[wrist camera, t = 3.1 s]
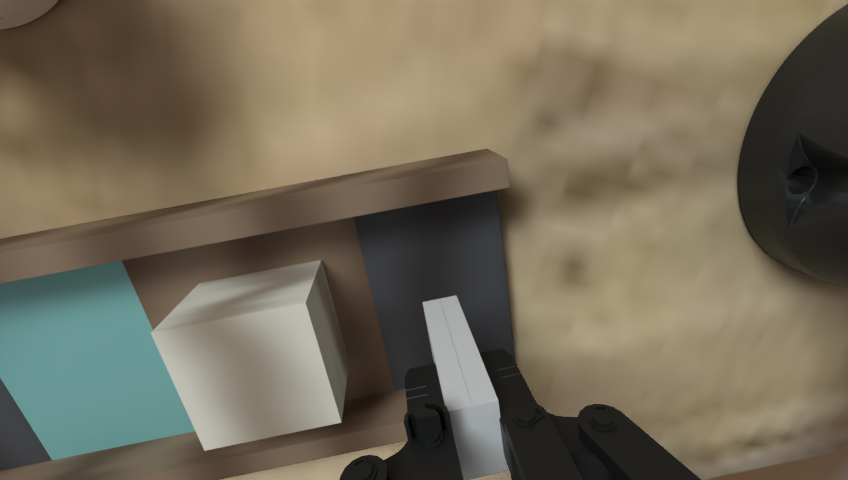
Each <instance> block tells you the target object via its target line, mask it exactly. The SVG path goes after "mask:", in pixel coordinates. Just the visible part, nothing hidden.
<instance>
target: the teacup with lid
mask: <svg viewBox="0 0 848 480" xmlns="http://www.w3.org/2000/svg"><path fill="white" fill-rule="evenodd" d="M58 1H59V0H0V29H8V28H12V27H17V26H20V25H23V24H26V23H28V22H31V21H33V20H35V19H37V18H38V17H40V16H42V15H43V14H45V13H46V12H47V11H48V10H50V9H51V8H52V7H53V6H54V5H55V4H56V3H57V2H58Z"/></svg>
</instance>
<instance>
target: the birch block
mask: <svg viewBox="0 0 848 480" xmlns="http://www.w3.org/2000/svg"><path fill="white" fill-rule="evenodd" d="M151 335H152V337H153V339H154V342H155V344H156V346H157V348H158V350H159V352H160V355H161V357H162V359H163V361H164V363H165V366H166V368H167V370H168V372H169V374H170V377H171V379H172V381H173V383H174V385H175V387H176V390H177V392H178V394H179V396H180V398H181V401H182V403H183V405H184V407H185V409H186V411H187V414H188V416H189V418H190V420H191V422H192V425H193V427H194V429H195V431H196V433H197V435H198V438H199V440H200V442H201V444H202V446H203V449H204V451H206V450H211V449H216V448H221V447H226V446H231V445H235V444H240V443H245V442H250V441H255V440H260V439H265V438H269V437H274V436H279V435H284V434H289V433H294V432H299V431H303V430H308V429H313V428H318V427H323V426H328V425H333V424H337V423H342V415H343V407H344V399H345V391H346V383H347V375H348V366H349V358H348V355H347V351H346V347H345V344H344V340H343V336H342V333H341V329H340V326H339V322H338V318H337V315H336V311H335V307H334V304H333V300H332V296H331V293H330V289H329V285H328V282H327V278H326V275H325V271H324V267H323V264H322V260H317V261H312V262H307V263H302V264H297V265H291V266H286V267H281V268H276V269H271V270H265V271H260V272H255V273H250V274H244V275H239V276H234V277H229V278H224V279H218V280H213V281H208V282H203V283H199V284H198V285H197V286H196V287H195V288H194V289H193V290H192V291H191V292H190V293H189V294H188V295H187V296H186V297H185V298H184V299H183V300H182V301H181V302H180V303H179V304H178V305H177V306H176V307H175V308H174V309H173V311H172V312H171V313H170V314H169V315H168V316H167V317H166V318H165V319H164V320H163V321H162V322H161V323H160V324H159V325H158V326H157V327H156V328H155V329H154V330H153V331H152V332H151Z"/></svg>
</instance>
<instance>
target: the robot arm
mask: <svg viewBox="0 0 848 480" xmlns="http://www.w3.org/2000/svg"><path fill="white" fill-rule="evenodd" d="M738 184H739V198H740V204H741V209H742V212H743V216H744V219H745V221H746V224H747V226H748V228H749V230H750V232H751V234H752V236H753V237H754V239H755V240H756V242H757V243H758V244H759V245H760V247H761V248H762V249H763V250H764V251H765V252H766V253H768V254H769V255H770V256H771V257H773V258H774V259H776V260H777V261H779V262H781V263H783V264H784V265H787V266H789V267H791V268H794V269H796V270H799V271H801V272H803V273H806V274H808V275H811V276H813V277H816V278H818V279H820V280H823V281H826V282H829V283H833V284H837V285H841V286H846V287H848V4H847V5H846V6H844V7H843V8H841V9H840V10H838V11H836V12H835V13H834V14H832V15H831V16H830V17H828V18H827V19H826V20H825V21H823V22H822V23H821V24H820V25H819V26H817V27H816V28H815V29H814V30H813V31H812V32H811V33H810V34H809V35H808V36H807V37H806V38H805V39H804V40H803V41H802V42H801V43H800V44H799V45H798V46H797V47H796V48H795V49H794V50H793V52H792V53H791V54H790V55H789V56H788V58H787V59H786V60H785V61H784V63H783V64H782V65H781V67H780V68H779V69H778V71H777V72H776V74H775V75H774V77H773V78H772V80H771V81H770V83H769V85H768V86H767V88H766V90H765V91H764V93H763V95H762V97H761V99H760V101H759V103H758V105H757V107H756V109H755V111H754V114H753V116H752V118H751V121H750V124H749V126H748V129H747V133H746V136H745V139H744V143H743V147H742V152H741V157H740V165H739V178H738ZM422 303H423V308H424V313H425V319H426V324H427V329H428V334H429V340H430V345H431V350H432V355H433V360H434V364H429V365H425V366H420V367H415V368H410V369H409V370H408V372H407V374H406V377H405V379H404V380H405V390H406V399H407V410H408V411H407V413H406V414H405V417H404V425H405V430H406V434H407V438H408V441H407V442H406V444H405V445H404V447H403V448H402V449H401V450H400V451H399V452H397V453H396V454H394V455H393V456H391V457H389V458H387V459H385V460H383V459H381V458H380V457H378V456H373V455H367V456H361V457H359V458H357V459H355V460H353V461H352V462H351V463H350V464H349V465H348V466H347V467H346V468H345V469H344V471H343V473H342V475H341V477H340V480H469V479H474V478H478V477H482V476H487V475H491V474H496V473H500V472H505V471H507V465H508V468H509V470H510V473H511V479H512V480H701V479H699V478H698V477H697V476H696V475H695V474H694V473H692V472H691V471H690V470H689V469H688V468H687V467H685V466H684V465H683V464H682V463H681V462H679V461H678V460H677V459H676V458H675V457H674V456H672V455H671V454H670V453H669V452H668V451H667V450H665V449H664V448H663V447H662V446H661V445H659V444H658V443H657V442H656V441H655V440H654V439H652V438H651V437H650V436H649V435H648V434H647V433H645V432H644V431H643V430H642V429H641V428H639V427H638V426H637V425H636V424H635V423H634V422H632V421H631V420H630V419H629V418H628V417H626V416H625V415H624V414H623V413H622V412H620V411H619V410H617V409H615V408H614V407H611V406H607V405H603V404H593V405H589V406H586V407H585V408H583V409H582V410H581V411H580V413H579V415H578V417H562V416H556V415H552V414H550V413H548V412H546V411H545V409H544V408H543V407H541V406H539V405H538V404H537V403H536V401H535V399H534V397H533V396H532V394H531V392H530V390H529V388H528V386H527V384H526V382H525V380H524V378H523V376H522V374H521V372H520V370H519V369H518V367H517V365H516V363H515V361H514V359H513V357H512V355H510V354H509V353H508V352H506V351H505V350H504V349H502V348H501V349H496V350H491V351H487V352H482V353H479V351H478V348H477V346H476V343H475V341H474V338H473V336H472V333H471V331H470V328H469V326H468V323H467V321H466V318H465V316H464V313H463V311H462V308H461V306H460V303H459V301H458V298H457V296H456V295H455V296H450V297H445V298H440V299H436V300H431V301H426V302H422ZM506 462H507V463H506Z"/></svg>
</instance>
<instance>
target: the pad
mask: <svg viewBox="0 0 848 480" xmlns="http://www.w3.org/2000/svg"><path fill="white" fill-rule="evenodd" d="M152 331H153V329H152V327H151V324H150V322H149V320H148V318H147V316H146V313H145V311H144V309H143V307H142V305H141V302H140V300H139V298H138V296H137V294H136V291H135V289H134V287H133V285H132V283H131V280H130V278H129V276H128V274H127V272H126V269H125V267H124V265H123V263H122V261H117V262H112V263H106V264H101V265H96V266H90V267H85V268H80V269H74V270H69V271H64V272H59V273H53V274H48V275H43V276H37V277H32V278H27V279H21V280H16V281H11V282H6V283H0V378H1V380H2V381H3V383H4V385H5V386H6V388H7V389H8V391H9V392H10V394H11V396H12V397H13V399H14V400H15V402H16V404H17V405H18V407H19V408H20V410H21V412H22V413H23V415H24V416H25V418H26V419H27V421H28V423H29V424H30V426H31V427H32V429H33V431H34V432H35V434H36V435H37V437H38V439H39V440H40V442H41V443H42V445H43V446H44V448H45V450H46V451H47V453H48V454H49V456H50V458H51V459H52V460H57V459H62V458H67V457H71V456H76V455H81V454H86V453H91V452H96V451H101V450H106V449H111V448H116V447H121V446H125V445H130V444H135V443H140V442H145V441H150V440H155V439H160V438H165V437H170V436H174V435H179V434H184V433H189V432H194V431H195V429H194V427H193V425H192V422H191V420H190V418H189V416H188V414H187V411H186V409H185V407H184V405H183V403H182V401H181V398H180V396H179V394H178V392H177V390H176V387H175V385H174V383H173V381H172V379H171V377H170V374H169V372H168V370H167V368H166V366H165V363H164V361H163V359H162V357H161V355H160V352H159V350H158V348H157V346H156V344H155V342H154V339H153V337H152V335H151V332H152Z"/></svg>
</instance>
